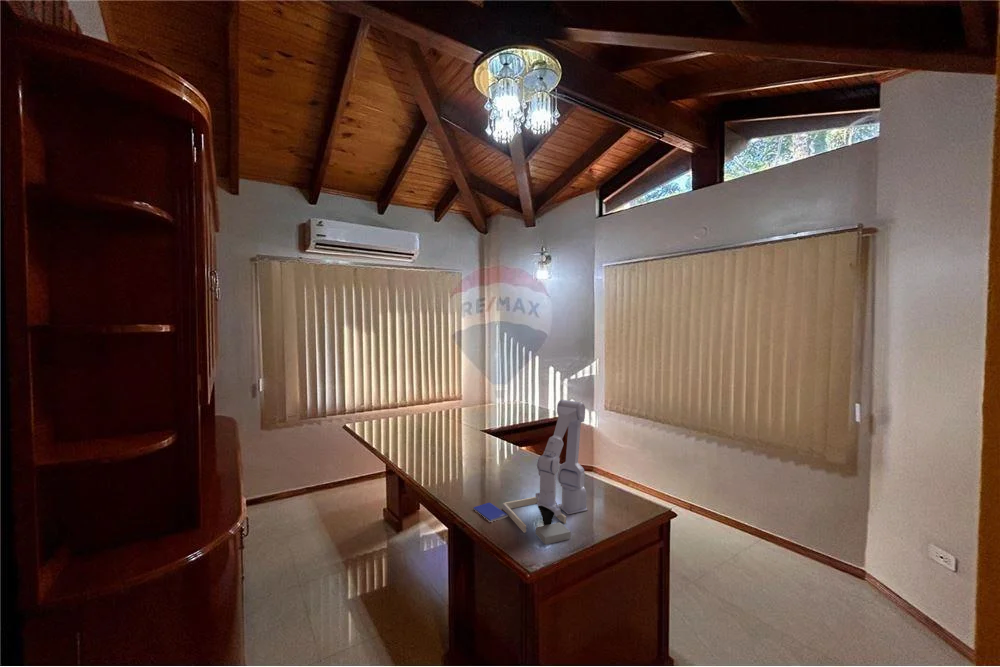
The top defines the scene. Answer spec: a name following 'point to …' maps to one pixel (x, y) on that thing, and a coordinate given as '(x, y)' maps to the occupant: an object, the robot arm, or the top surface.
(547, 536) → the gray rectangular block
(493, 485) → the top surface
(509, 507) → the beige u-shaped frame
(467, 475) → the top surface
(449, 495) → the top surface
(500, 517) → the hard drive
